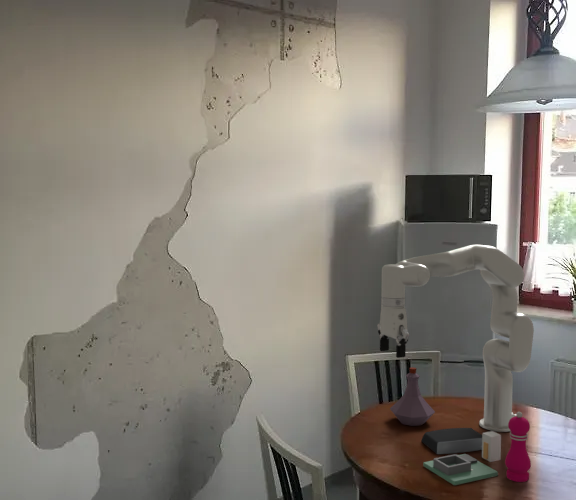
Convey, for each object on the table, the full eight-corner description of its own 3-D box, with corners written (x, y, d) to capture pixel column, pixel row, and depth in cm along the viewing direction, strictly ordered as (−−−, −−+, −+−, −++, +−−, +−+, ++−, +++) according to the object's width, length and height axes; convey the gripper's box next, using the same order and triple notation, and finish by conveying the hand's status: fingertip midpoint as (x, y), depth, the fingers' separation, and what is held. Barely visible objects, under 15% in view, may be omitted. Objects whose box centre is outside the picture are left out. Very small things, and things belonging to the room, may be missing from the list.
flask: (387, 427, 242) (388, 372, 240) (391, 412, 258) (392, 361, 256) (434, 431, 238) (435, 375, 236) (435, 416, 254) (436, 363, 252)
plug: (491, 455, 216) (492, 431, 216) (500, 459, 213) (501, 435, 212) (480, 457, 214) (481, 433, 214) (489, 462, 211) (489, 437, 210)
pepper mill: (500, 473, 203) (502, 408, 201) (524, 472, 203) (525, 407, 201) (510, 483, 195) (512, 416, 194) (534, 482, 196) (536, 415, 194)
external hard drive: (491, 450, 221) (492, 438, 221) (437, 456, 216) (438, 444, 216) (471, 436, 234) (471, 425, 234) (420, 441, 229) (420, 430, 229)
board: (465, 457, 214) (465, 446, 214) (497, 475, 201) (498, 463, 200) (423, 466, 208) (423, 454, 208) (454, 485, 194) (454, 473, 194)
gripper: (418, 305, 214) (417, 358, 215) (388, 297, 229) (387, 347, 231) (398, 307, 211) (397, 361, 212) (369, 299, 226) (368, 349, 228)
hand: (392, 353), depth 221 cm, fingers open, 9 cm apart
